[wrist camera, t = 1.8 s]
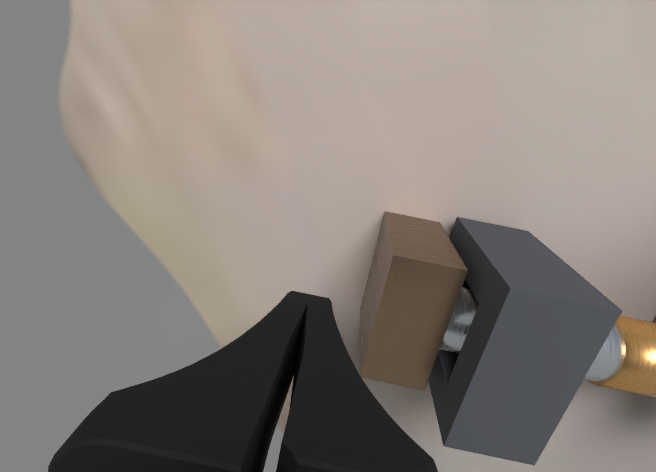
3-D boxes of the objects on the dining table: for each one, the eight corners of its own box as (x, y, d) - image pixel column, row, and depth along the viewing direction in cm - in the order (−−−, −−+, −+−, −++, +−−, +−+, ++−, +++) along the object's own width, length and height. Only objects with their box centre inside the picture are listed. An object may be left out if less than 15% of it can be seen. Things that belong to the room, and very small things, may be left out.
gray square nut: (528, 231, 15) (622, 311, 10) (480, 346, 18) (534, 465, 12) (456, 216, 15) (510, 288, 10) (418, 334, 18) (443, 446, 12)
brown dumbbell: (739, 283, 16) (884, 356, 11) (677, 373, 18) (781, 466, 13) (385, 211, 16) (393, 257, 12) (360, 308, 18) (359, 378, 14)
